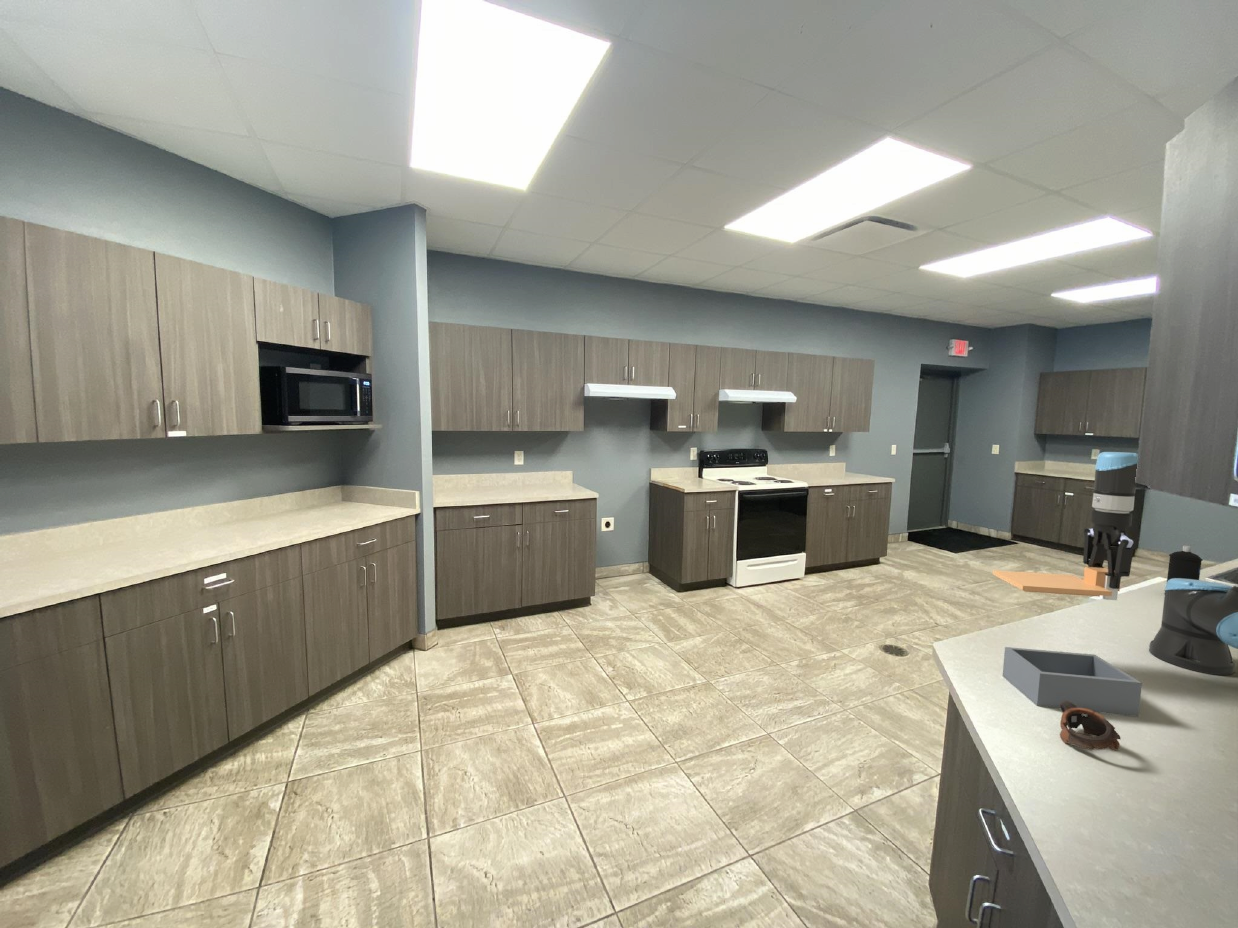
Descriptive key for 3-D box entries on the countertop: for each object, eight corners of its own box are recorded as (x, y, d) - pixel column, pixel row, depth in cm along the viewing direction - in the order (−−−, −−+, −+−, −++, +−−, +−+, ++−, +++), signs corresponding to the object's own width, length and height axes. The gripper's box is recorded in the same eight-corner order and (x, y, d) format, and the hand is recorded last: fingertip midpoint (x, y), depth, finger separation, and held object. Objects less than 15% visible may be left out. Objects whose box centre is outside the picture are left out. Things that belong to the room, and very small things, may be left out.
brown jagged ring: (1138, 762, 92) (1133, 734, 89) (1087, 776, 94) (1080, 749, 91) (1083, 711, 103) (1077, 685, 101) (1038, 724, 105) (1031, 699, 102)
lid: (1092, 583, 131) (1094, 563, 130) (1134, 600, 118) (1137, 578, 118) (992, 576, 135) (994, 557, 135) (1022, 593, 123) (1024, 571, 122)
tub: (1091, 684, 118) (1094, 654, 117) (1138, 716, 105) (1142, 682, 105) (1002, 676, 122) (1005, 646, 121) (1036, 705, 109) (1040, 673, 108)
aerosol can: (1178, 600, 175) (1185, 548, 174) (1157, 592, 183) (1163, 542, 182) (1204, 602, 174) (1211, 549, 172) (1182, 593, 182) (1188, 544, 180)
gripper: (1070, 504, 132) (1062, 584, 134) (1123, 516, 115) (1113, 607, 117) (1101, 505, 131) (1092, 586, 133) (1159, 517, 114) (1148, 609, 116)
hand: (1102, 595), depth 125 cm, fingers closed on lid, 4 cm apart
